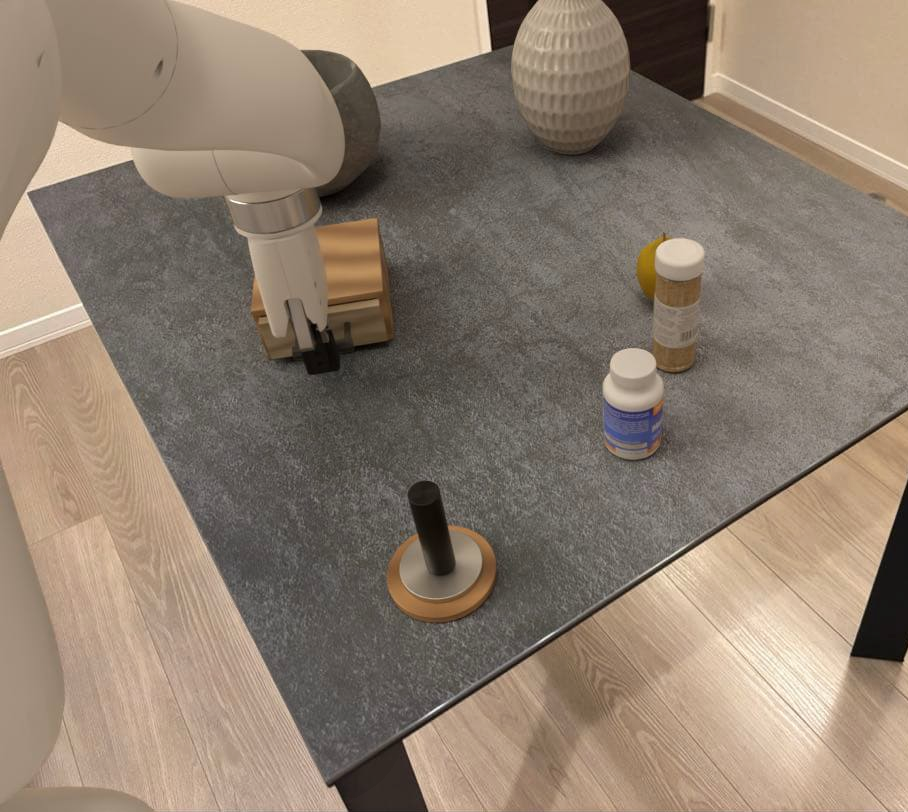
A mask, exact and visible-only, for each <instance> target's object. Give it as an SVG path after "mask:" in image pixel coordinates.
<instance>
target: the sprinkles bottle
mask: <svg viewBox="0 0 908 812" xmlns="http://www.w3.org/2000/svg"><path fill="white" fill-rule="evenodd" d="M705 261H706V250H705V249H704V247H703V246H702V245H701V244H700V243H699V242H697V241H695V240H692V239H689V238H683V237H682V238H681V237H679V238H678V237H677V238H673V239H670V240H667V241H665V242H663V243H661V244H660V245H659V246H658V247H657V249H656V254H655V269H656V289H655V295H654V301H653V318H652V320H653V321H652V336H653V337H652V350H651V354H652V355H653V356H654V358H655V360H656V368H658V369H659V370H662V371H663V372H667V373H679V372H680V373H681V372H684V371H686V370H688V369H689V368H691V367H692V366H693V365H694V363H695V360H696V353H695V349H696V341H697V340H696V339H697V336H698V328H699V318H700V305H701V296H702V295H701V285H702V284H701V283H702V275H703V272H704V270H705Z"/></svg>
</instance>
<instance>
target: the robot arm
mask: <svg viewBox="0 0 908 812" xmlns="http://www.w3.org/2000/svg"><path fill="white" fill-rule="evenodd" d="M300 50H301V49H300V48H298V47H297V46H295V45H293V44H292V43H291V42H289V41H288V40H286V39H284V38H282V37H280V36H278V35H276V34H274V33H271V32H268V31H267V30H264V29H261V28H258V27H255V26H252V25H250V24H247V23H244V22H240V21H237V20H235V19H231V18H229V17H226V16H223V15H220V14H217V13H214V12H213V11H212V12H211V11H210V10H207V9H204V8H200V7H197V6H194V5H191V4H188V3H184V2H180V1H176V0H0V242H1V241H2V239H3V236H4V233H5V231H6V229H7V227H8V225H9V222H10V220H11V219H12V216H13V214H14V213H15V210H16V208H17V206H18V205H19V203H20V201H21V199H22V197H23V196H24V194H25V192H26V190H27V189H28V187H29V185H30V184H31V182H32V180H33V178H34V177H35V176H36V174H37V172H38V171H39V169H40V167H41V166H42V163H43V162H44V160H45V158H46V156H47V154H48V152H49V150H50V148H51V145H52V143H53V140H54V138H55V136H56V135H55V134H56V131H57V127H58V124H59V122H60V123H62V124H64V125H66V126H68V127H69V128H71V129H72V130H75V131H76V132H78V133H80V134H82V135H84V136H86V137H88V138H90V139H92V140H95V141H99V142H102V143H105V144H108V145H112V146H118V147H127V148H130V153H131V156H132V161H133V163H134V166H135V168H136V170H137V172H138V173H139V175H140V177H141V178H142V180H143V181H144V182H145V183H146V185H148V186H149V187H150V188H151V189H153V190H154V191H156V192H157V193H160V194H162V195H164V196H166V197H170V198H174V199H175V198H176V199H185V200H187V199H188V200H192V199H193V200H194V199H204V198H205V199H206V198H217V197H223V198H224V201H225V204H226V207H227V211H228V212H229V215H230V219H231V221H232V225H233V227H234V229H235V231H236V232H237V233H238V234H239V235H241V236H243V237H245V238H247V245H248V250H249V255H250V259H251V264H252V267H253V268H252V269H253V273H254V277H255V276H256V280H257V284H258V287H259V291H260V294H261V297H262V301H263V304H264V308H265V311H266V315H267V318H268V321H269V325H270V328H271V331H272V334H273V336H274V337H276V338H278V339H279V338H281V337H286V332H287V325H288V319H289V320H290V323H291V325H292V328H293V331H294V333H295V336H296V339H297V341H298V345H299V348H300V351H301V354H302V357H303V363H304V366H305V369H306V372H307V374H308V375H310V376H314V375H321V374H328V373H334V372H338V371H340V370H341V357H340V353H338V349H337V346H336V342H335V339H334V335H333V332H332V329H330V330H327V329H328V328H329V321H328V317H327V308H328V281H327V273H326V268H325V263H324V259H323V255H322V251H321V247H320V243H319V240H318V236H317V233H316V229H315V227H316V226H315V223H317V222H318V220H319V219H320V218H321V217H322V213H323V206H322V203H321V199H320V197H319V195H318V192H317V188H316V187H318V186H321V185H324V184H326V183H328V182H330V181H331V180H332V179H333V178H334V177H335V176H336V175H337V173H338V172H339V170H340V168H341V165H342V162H343V158H344V152H345V136H344V130H343V124H342V120H341V117H340V114H339V111H338V108H337V106H336V104H335V101H334V99H333V97H332V95H331V93H330V91H329V89H328V87H327V86H326V84H325V83H324V81H323V79H322V78H321V76H320V75H319V74H318V72H317V71H316V69H315V68H314V66H313V65H312V64H311V62H310V61H309V60H308V59H307V57H306V56H305V55H304V54H303V53H302V52H301V51H300ZM12 494H13V493H12V491H11V488H10V485H9V482H8V478H7V475H6V472H5V469H4V466H3V464H2V460H1V459H0V812H157V810H155V809H154V808H153V807H152V806H150V805H149V804H148V803H147V802H146V801H144V800H143V799H140V798H139V797H137V796H135V795H132V794H130V793H127V792H124V791H121V790H116V789H110V788H104V787H94V786H39V787H27V785H28V784H29V783H30V782H31V781H32V780H33V779H34V777H35V776H36V775H37V773H38V772H39V771H40V769H41V768H43V766H44V765H45V764H46V762H47V761H48V759H49V758H50V756H51V754H52V753H53V751H54V748H55V746H56V743H57V741H58V739H59V736H60V733H61V728H62V722H63V715H64V711H65V703H66V688H65V687H66V686H65V675H64V668H63V663H62V659H61V654H60V649H59V645H58V639H57V635H56V631H55V628H54V624H53V621H52V617H51V614H50V611H49V607H48V604H47V601H46V598H45V597H46V596H45V594H44V590H43V589H42V584H41V581H40V579H39V576H38V573H37V569H36V566H35V563H34V559H33V556H32V553H31V550H30V548H29V544H28V541H27V538H26V535H25V532H24V529H23V526H22V522H21V520H20V516H19V513H18V510H17V507H16V504H15V501H14V497H13V495H12ZM25 787H26V788H25Z"/></svg>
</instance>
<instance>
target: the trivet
mask: <svg viewBox="0 0 908 812" xmlns="http://www.w3.org/2000/svg"><path fill="white" fill-rule="evenodd" d="M448 529H449V530H453V531H458V532H461V533H464V534H466V535H468V536H469V537H471V538H472V539H473V540H474V541H475V542H476V543H477V545H478V546H479V548H480V550H481V553H482V557H483V570H482V574H481V577H480V579H479V580H478V582H477V584H476V585H475V586H474V587H473V588H472V589H471V590H470V591H469V592H468V593H467V594H465V595H464V596H462V597H460V598H458V599H456V600H453V601H450V602H446V603H428V602H424V601H421V600H419V599H417V598H415V597H414V596H412V595H411V594H410V593H409V592H408V591H407V590H406V589H405V587H404V585H403V583H402V580H401V577H400V562H401V559H402V556H403V554H404V552H405V551H406V549H407V548H408V547H409V546H410V545H411V544H412V543H413V542H414V541H415V540H417V539H418V538H419V537H418V534H417V533H415V534H413V535H412V536H410V537H409V538H407V539H406V540H405V541H404V542H403V543H402V544H401V545H400V546H399V547H398V548H397V549H396V550H395V552H394V554H393V555H392V557H391V558H390V562H389V564H388V566H387V572H386V582H387V583H386V584H387V588H388V591H389V595H390V597H391V599H392V601H393V603H394V604H395V605H396V607H397V608H398V609H399V610H400V611H401V612H403V613H404V614H406V615H407V616H408V617H410V618H412V619H414V620H418V621H421V622H426V623H435V624H436V623H447V622H452V621H457V620H459V619H461V618H465V616H467V615H470V614H472V613H473V612H474V611H476V610H477V609H478V608H479V607H481V606H482V604H483V603H485V601H486V600H487V599H488V598H489V597H490V595H491V593H492V592H493V589H494V587H495V585H496V582H497V578H498V564H497V558H496V555H495V552H494V550H493V548H492V546H491V544H490V543H489V542H488V541H487V539H485V538H484V537H483V536H482V535H480V533H478V532H476V531H474V530H472V529H471V528H467V527H464V526H459V525H450V524H449V525H448Z"/></svg>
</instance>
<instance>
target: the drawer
mask: <svg viewBox="0 0 908 812" xmlns="http://www.w3.org/2000/svg"><path fill="white" fill-rule="evenodd" d="M327 317H328V321H329V328H328V329H327V330H330V329H332V332H333V335H334V339H335V342H336V346H337V349H338V353H339V354H344V353H351V352H354V351H355V347H356V346H363V345H370V344H375V343H377V344H378V343H382V342H388V341H389V340H388V334H387V330H386V326H385V322H384V318H383V313H382V309H381V305H380V301H379V299H377V298H372V299H365V300H359V301H353V302H346V303H340V304H334V305H328V308H327ZM258 325H259V327H260V330H261V333H262V335H263V338H264V340H265V343H266V346H267V348H268V351H269V354H270V356H271V359H270V360H277V359H283V358H290V357H292V359H293V361H294V362H296V361H302V360H303V357H302V354H301V351H300V348H299V345H298V341H297V339H296V336H295V333H294V331H293V328H292V325H291V323H290V320H289V319H288V325H287V332H286V337H281V338H279V339H278V338H276V337H274V336H273V334H272V331H271V328H270V325H269V321H268V318H267V316H265V317H259V324H258ZM303 361H304V360H303Z"/></svg>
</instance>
